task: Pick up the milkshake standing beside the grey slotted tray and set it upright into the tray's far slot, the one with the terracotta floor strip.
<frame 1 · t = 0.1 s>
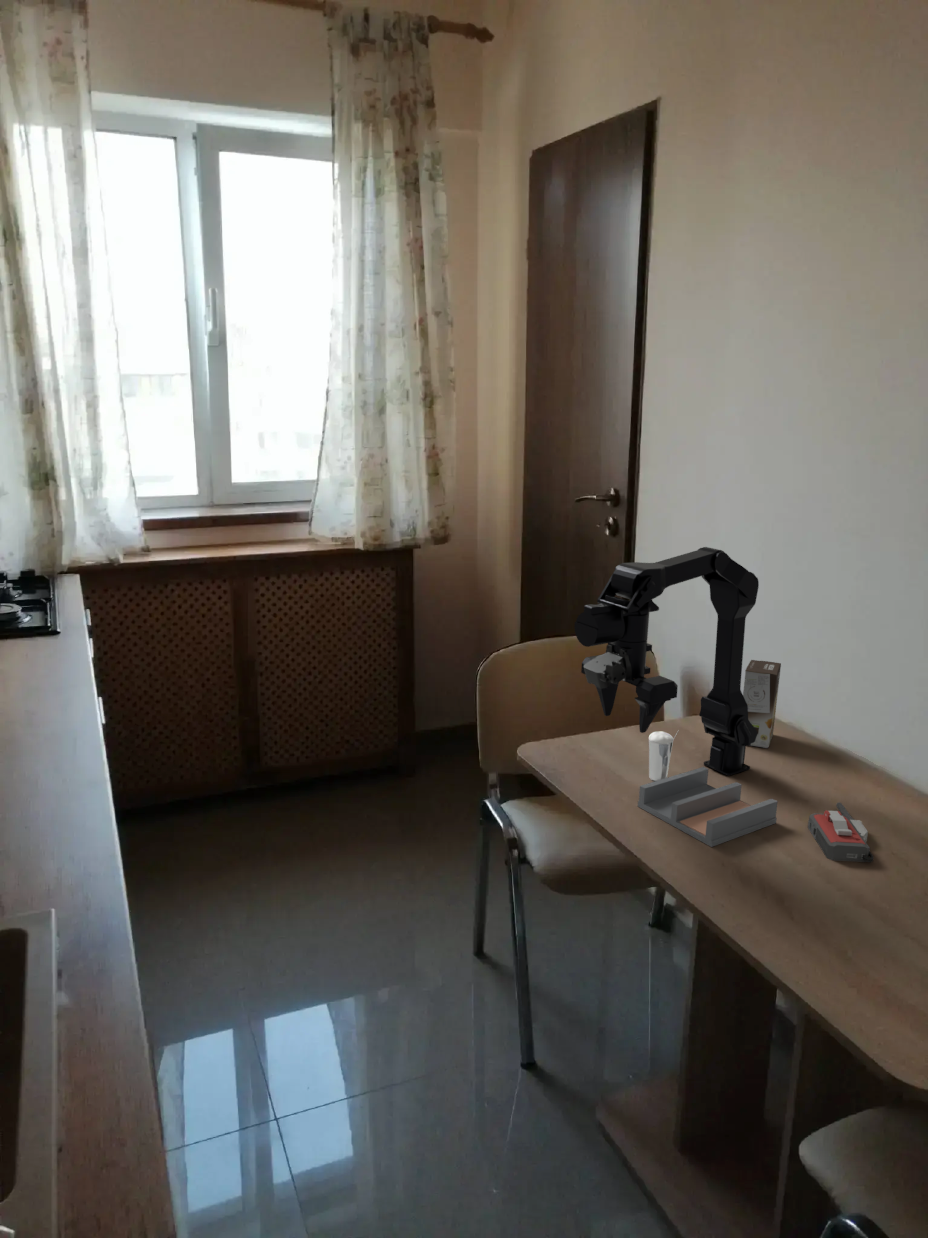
hand: (624, 723, 161), 15 cm above the table, tool pointing down, fingers open, 9 cm apart
coffee box: (755, 739, 195), on the table
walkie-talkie: (836, 838, 154), on the table
grey slotted tray: (705, 814, 160), on the table
milkshake: (660, 779, 174), on the table
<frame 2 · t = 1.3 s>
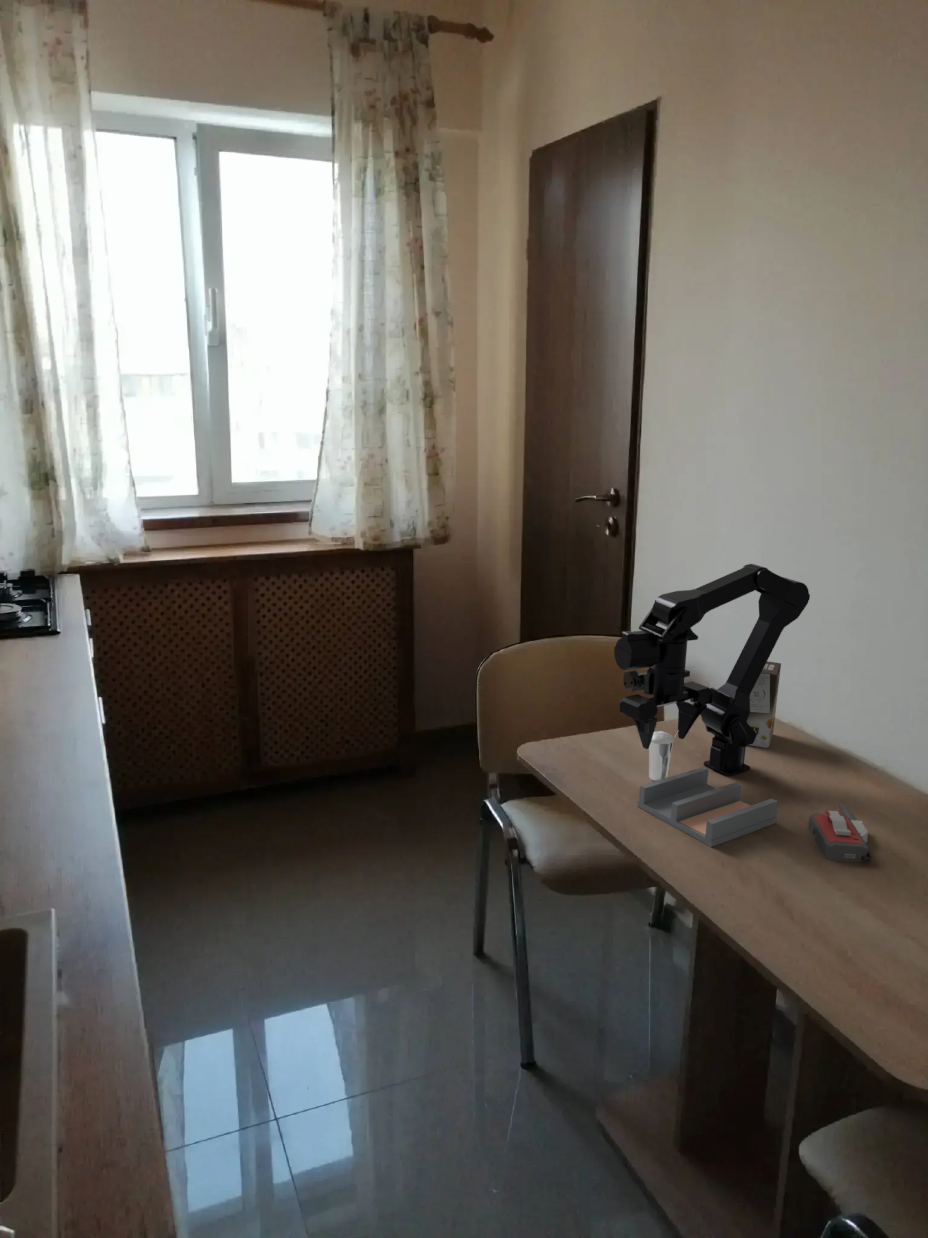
hand: (663, 743, 173), 7 cm above the table, tool pointing down, fingers open, 9 cm apart
nothing on the table moved.
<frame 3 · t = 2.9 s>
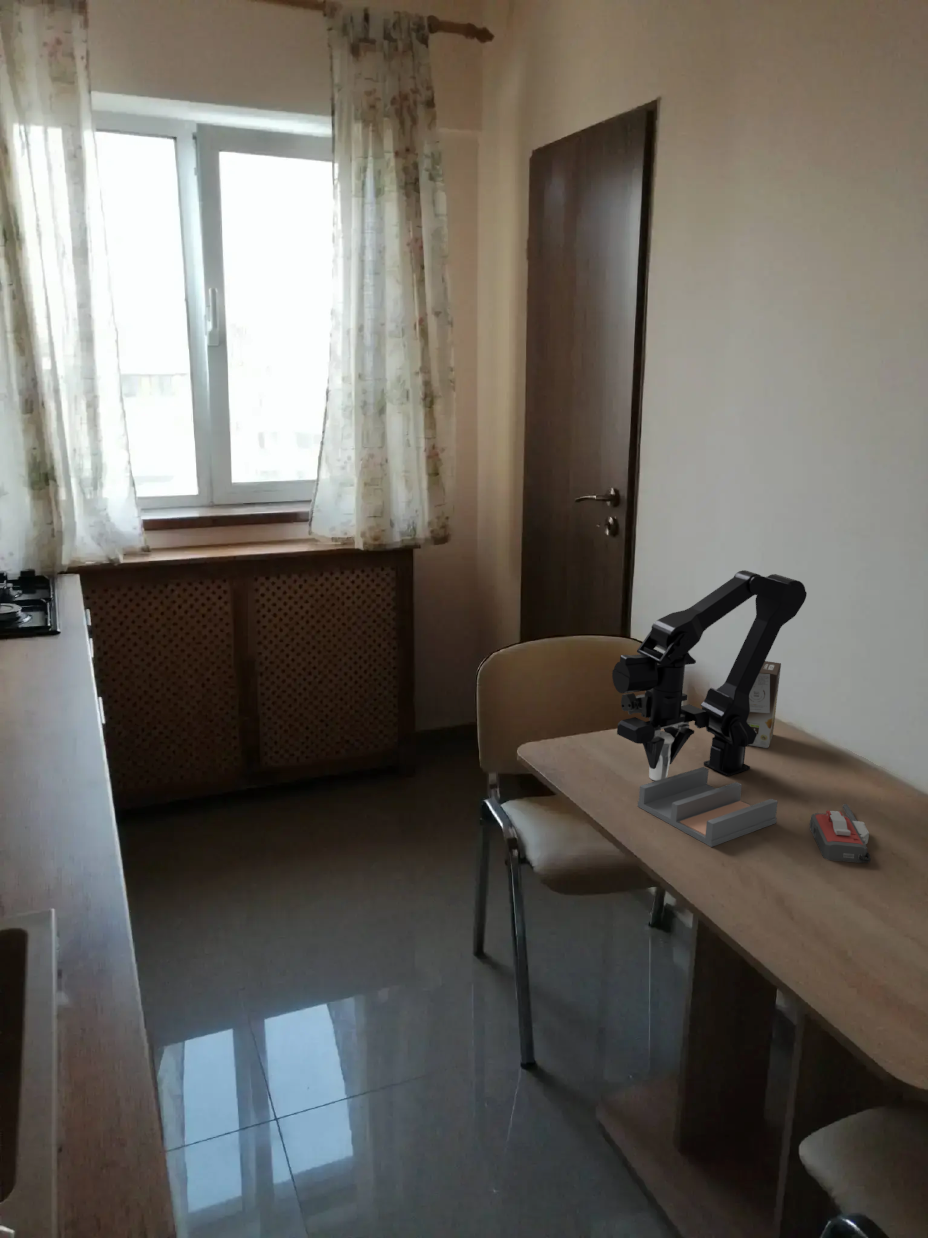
hand: (660, 766, 174), 3 cm above the table, tool pointing down, fingers closed on milkshake, 4 cm apart
milkshake: (660, 779, 174), on the table, touching gripper
everything else where it was.
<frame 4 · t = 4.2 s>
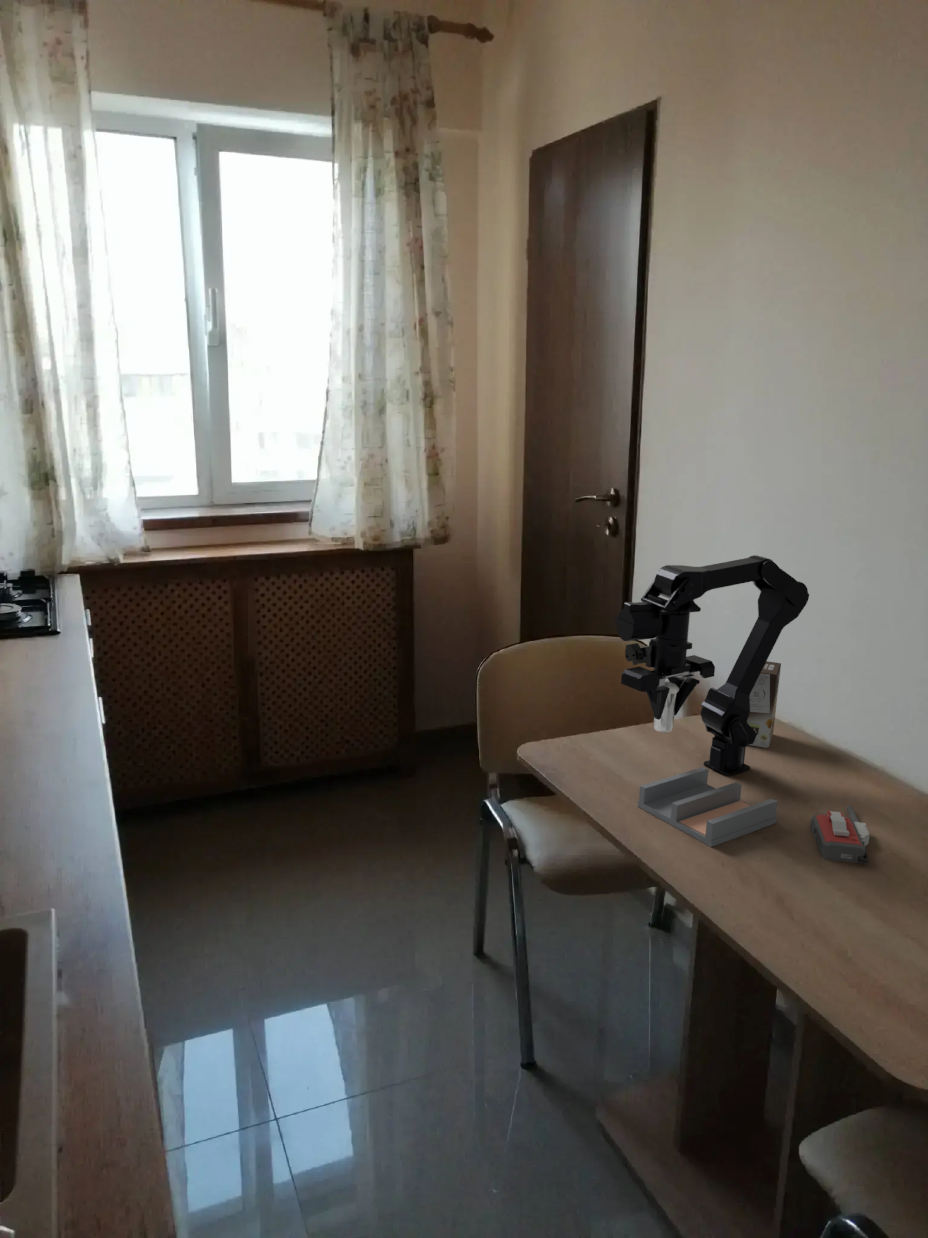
hand: (665, 716, 171), 12 cm above the table, tool pointing down, fingers closed on milkshake, 4 cm apart
milkshake: (665, 730, 172), point 10 cm above the table, touching gripper
everything else where it was.
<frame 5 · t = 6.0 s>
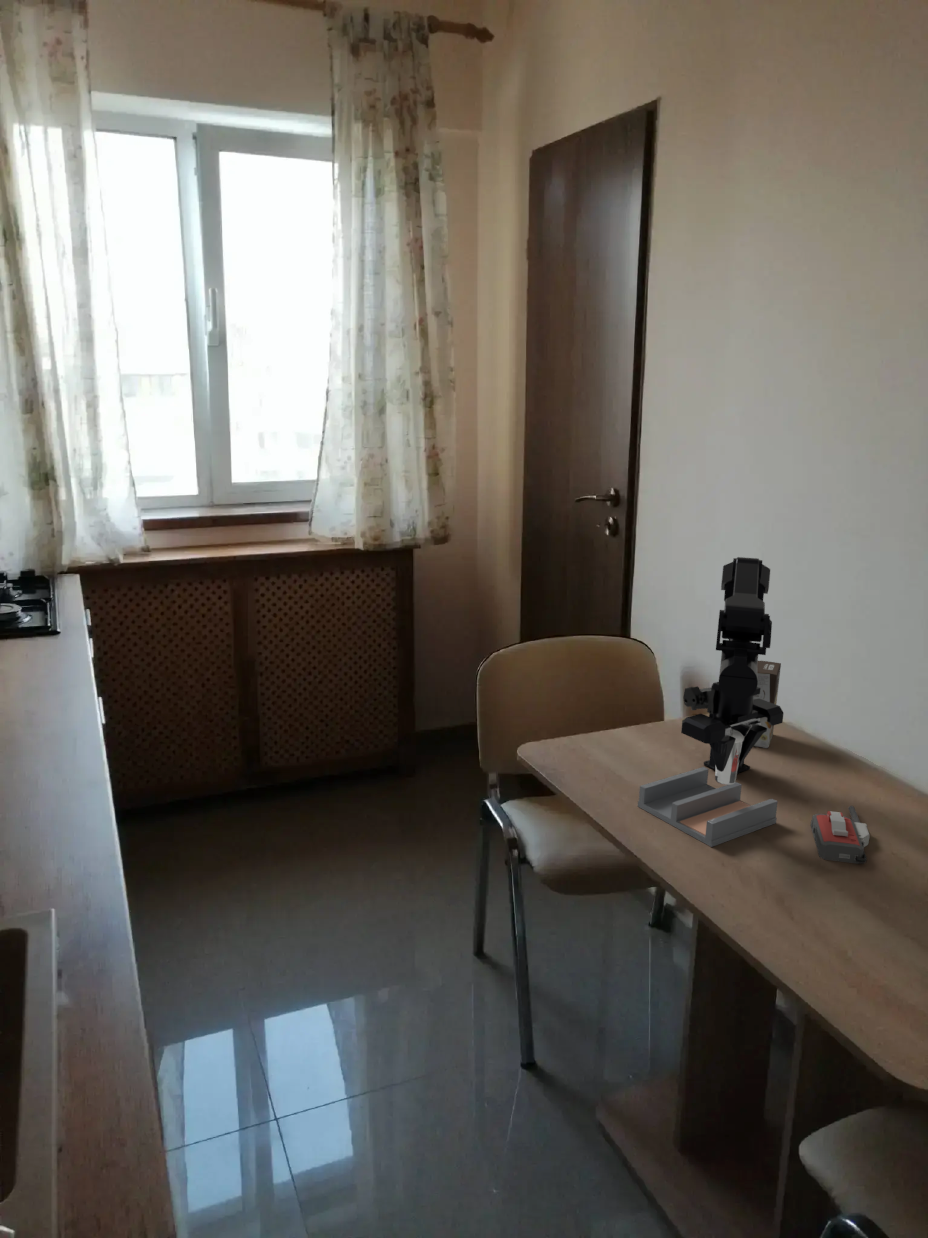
hand: (728, 768, 155), 10 cm above the table, tool pointing down, fingers closed on milkshake, 4 cm apart
milkshake: (727, 782, 155), point 7 cm above the table, touching gripper
when the fingers open (5 cm above the table, at t = 7.5 s): milkshake drops 1 cm, resting on grey slotted tray.
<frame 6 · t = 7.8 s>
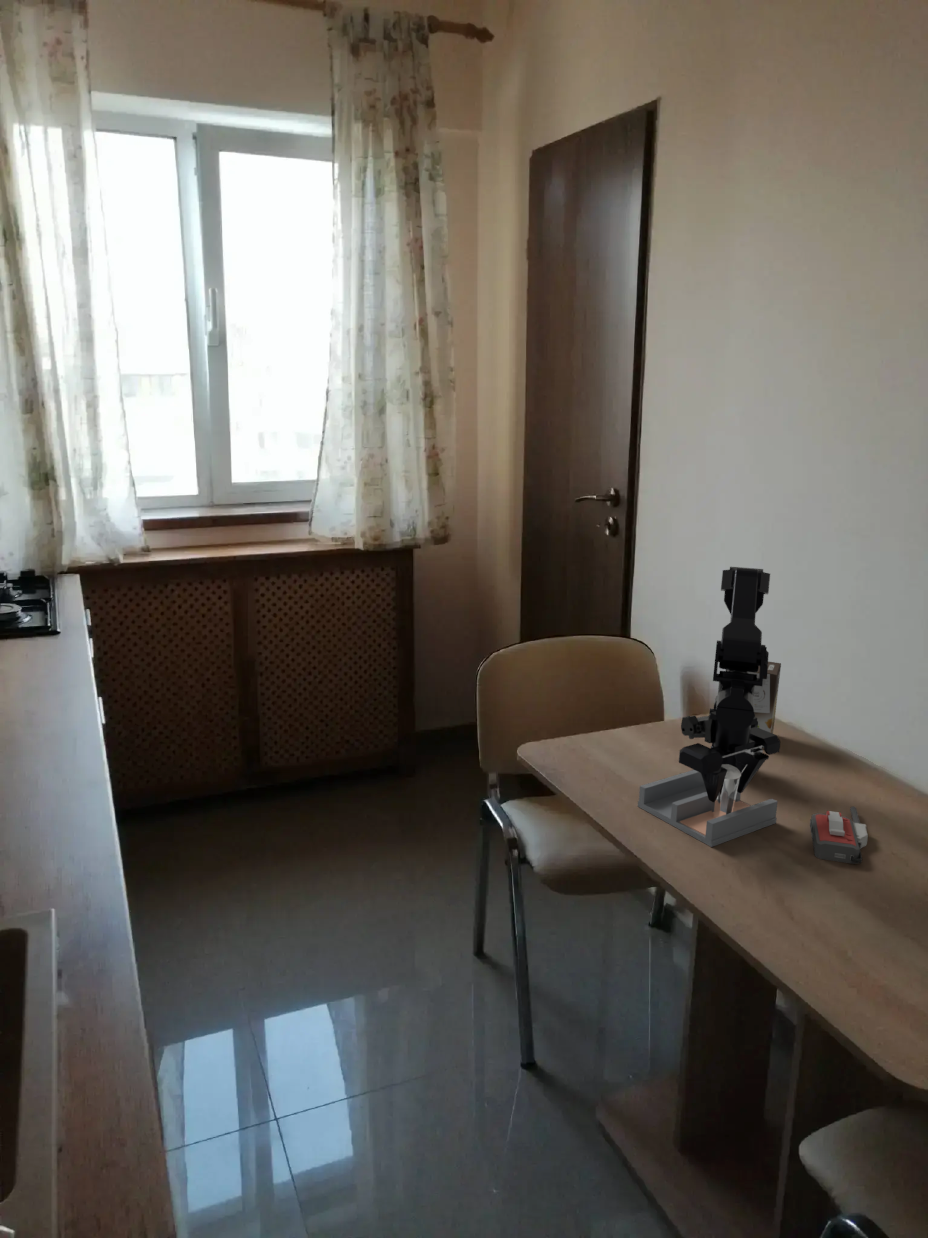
hand: (725, 796, 156), 5 cm above the table, tool pointing down, fingers open, 6 cm apart
milkshake: (724, 817, 157), point 1 cm above the table, touching grey slotted tray
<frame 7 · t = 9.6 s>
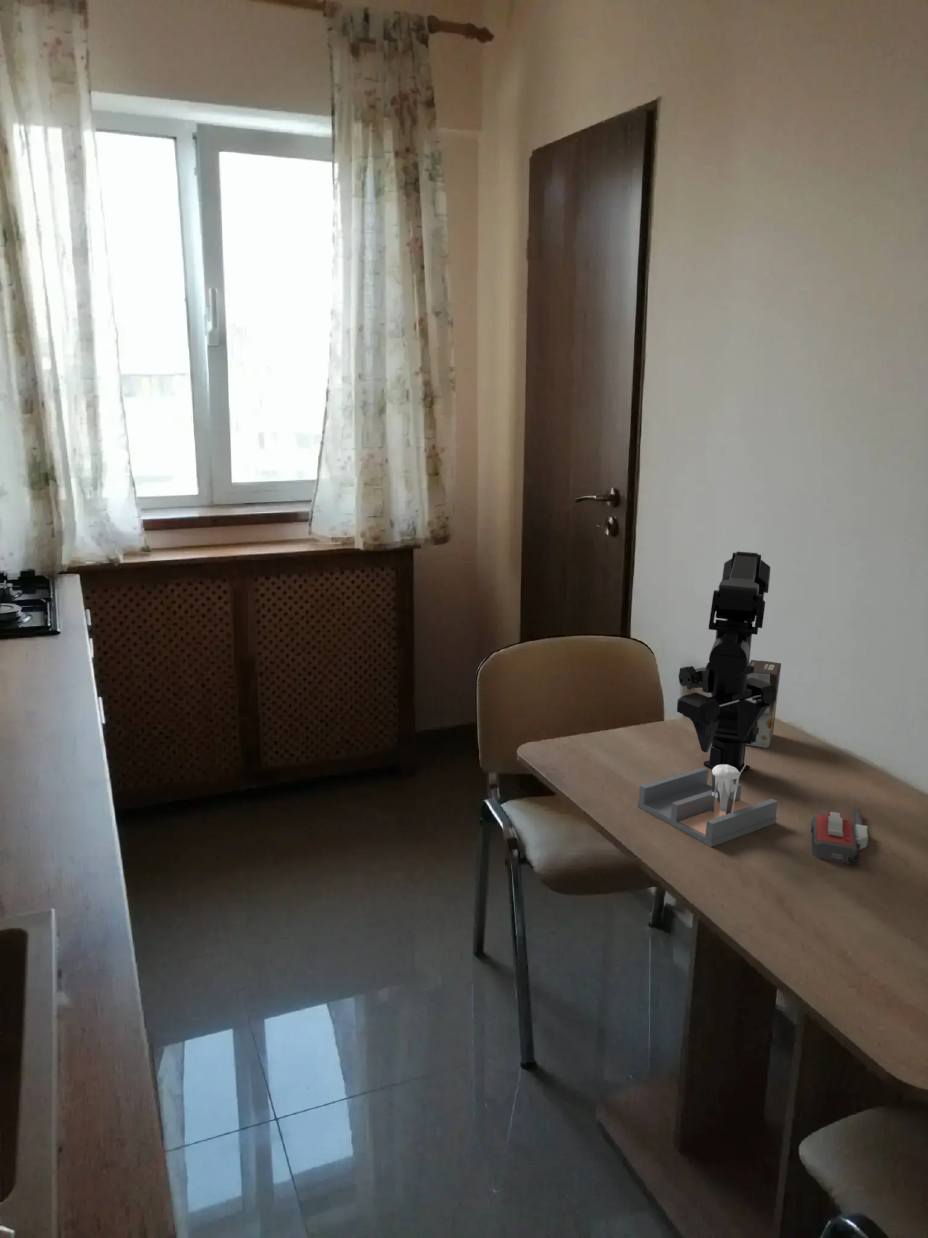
hand: (723, 745, 158), 13 cm above the table, tool pointing down, fingers open, 9 cm apart
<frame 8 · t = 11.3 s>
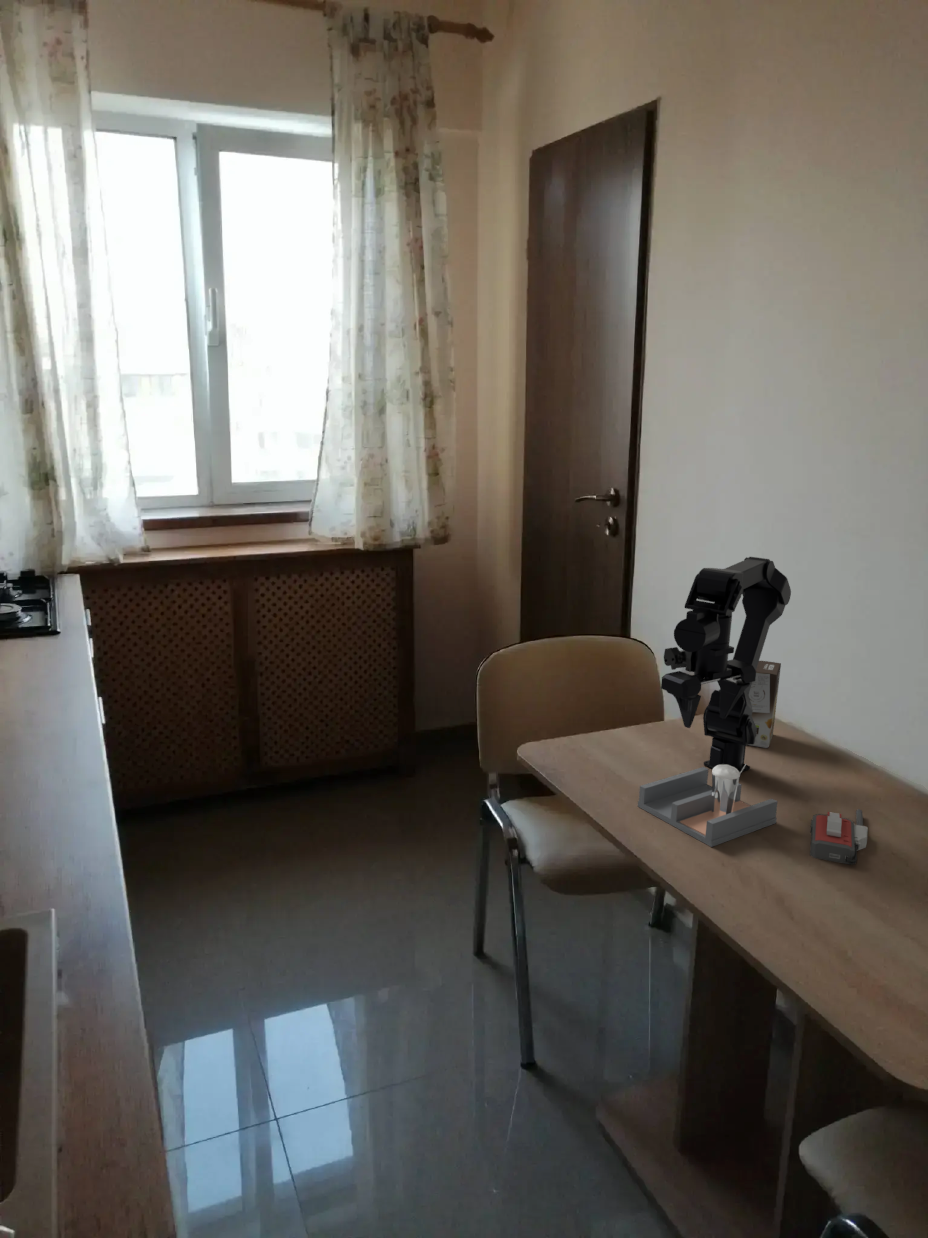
hand: (705, 722, 167), 13 cm above the table, tool pointing down, fingers open, 9 cm apart
at the end: milkshake inside the target area on the grey slotted tray (0.2 cm from its centre), point 1.0 cm above the grey slotted tray's base; milkshake tilted 0°; the gripper is holding nothing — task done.
